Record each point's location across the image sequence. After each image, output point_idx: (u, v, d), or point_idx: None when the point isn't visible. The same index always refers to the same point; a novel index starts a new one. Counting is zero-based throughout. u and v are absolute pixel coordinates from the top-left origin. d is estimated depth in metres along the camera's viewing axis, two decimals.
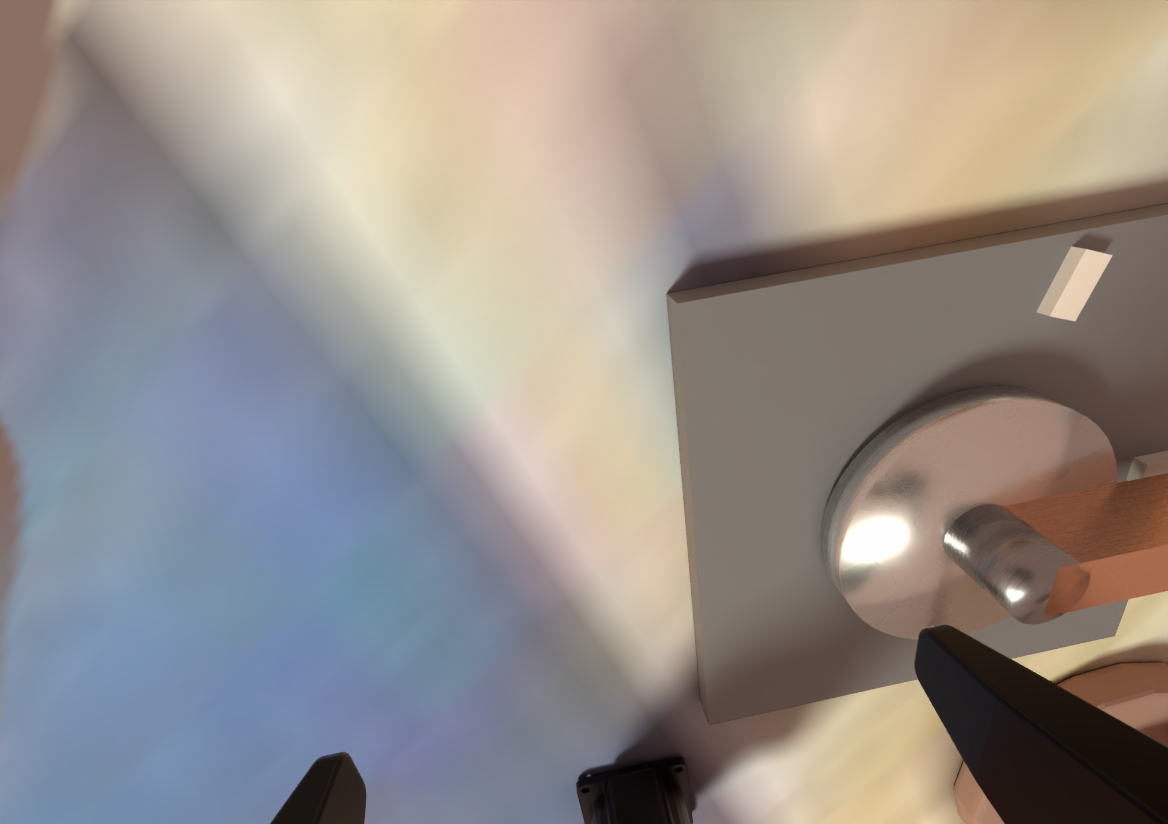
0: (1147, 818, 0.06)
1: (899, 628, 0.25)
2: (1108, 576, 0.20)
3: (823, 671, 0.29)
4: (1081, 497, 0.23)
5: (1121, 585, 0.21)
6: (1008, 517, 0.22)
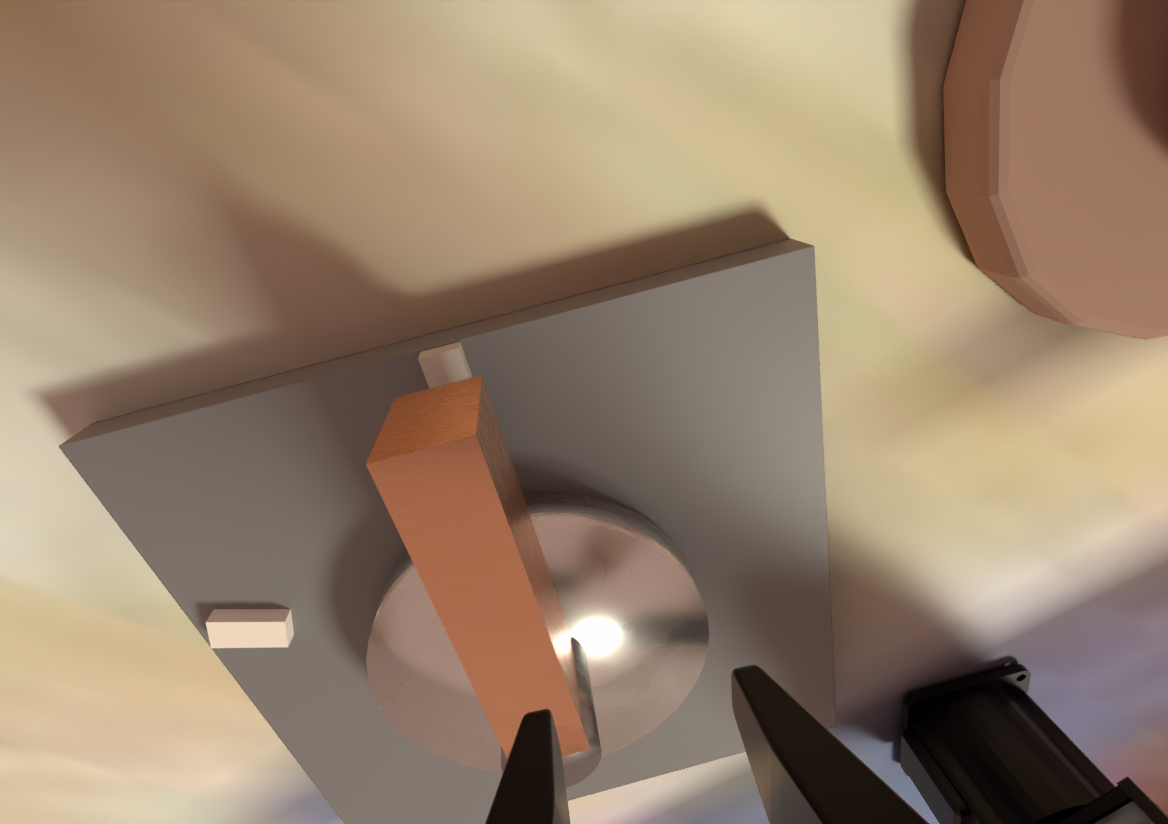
0: None
1: (684, 682, 0.21)
2: (523, 715, 0.16)
3: (781, 650, 0.24)
4: None
5: (538, 694, 0.16)
6: None
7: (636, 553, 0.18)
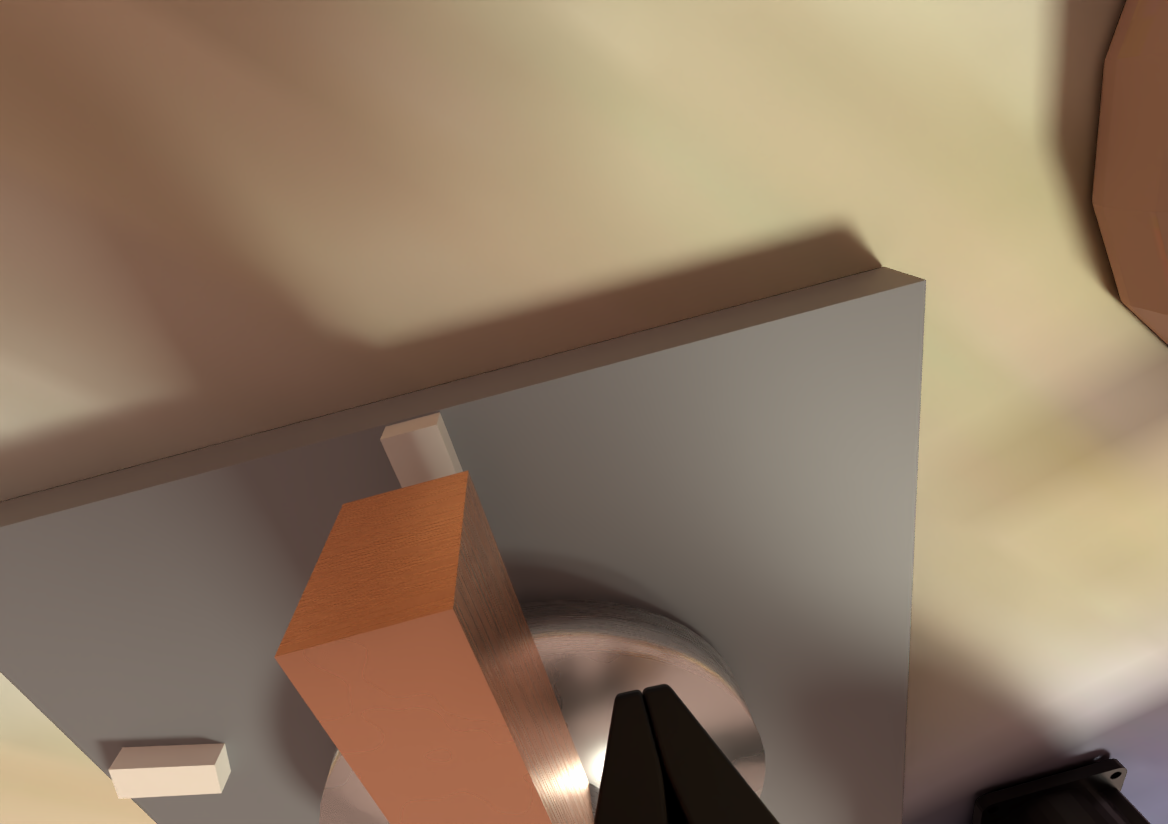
0: None
1: None
2: None
3: (843, 764, 0.20)
4: None
5: None
6: None
7: (677, 684, 0.14)
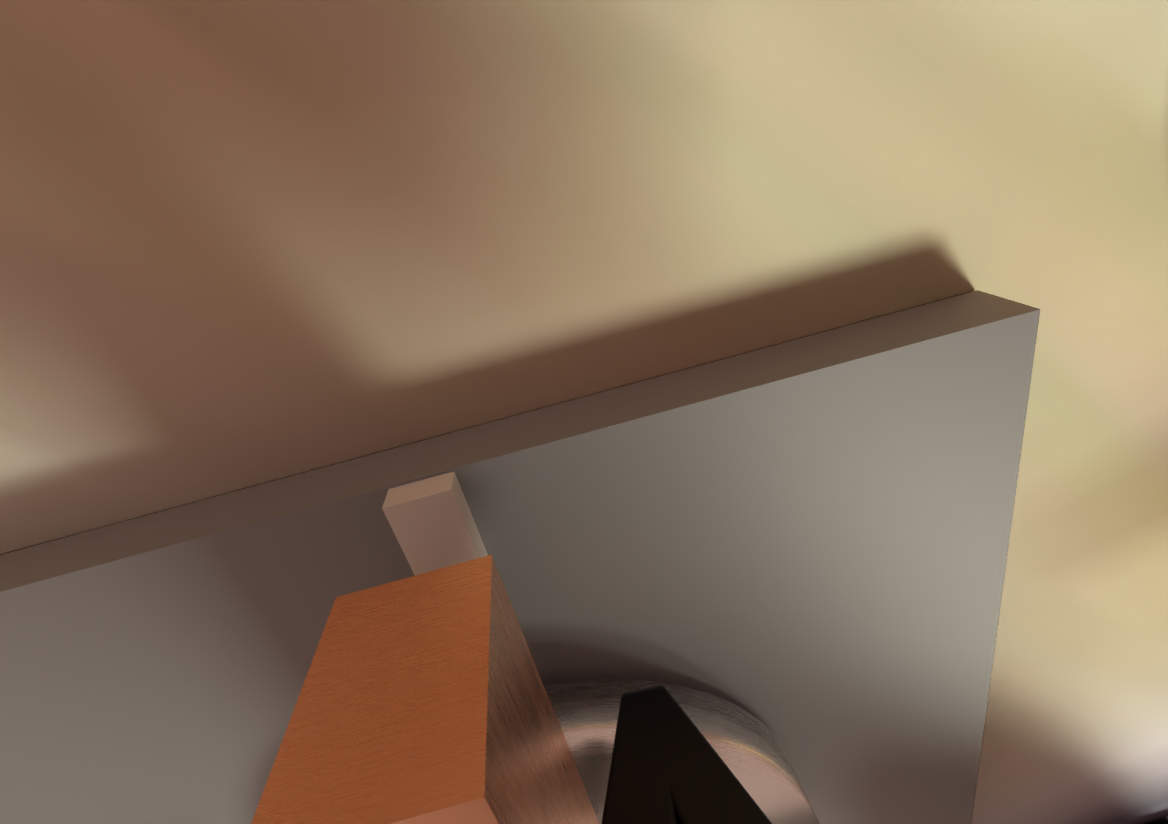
0: None
1: None
2: None
3: None
4: None
5: None
6: None
7: None
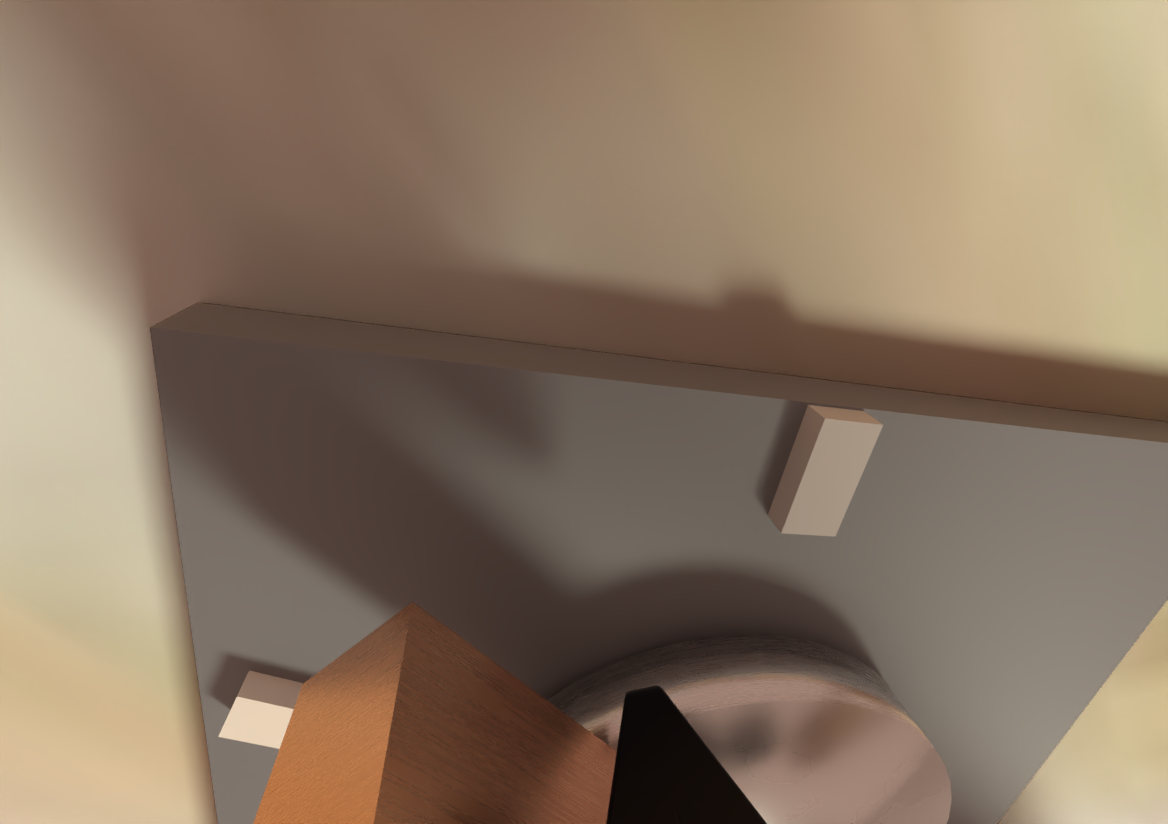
0: None
1: None
2: None
3: None
4: None
5: None
6: None
7: (787, 718, 0.11)
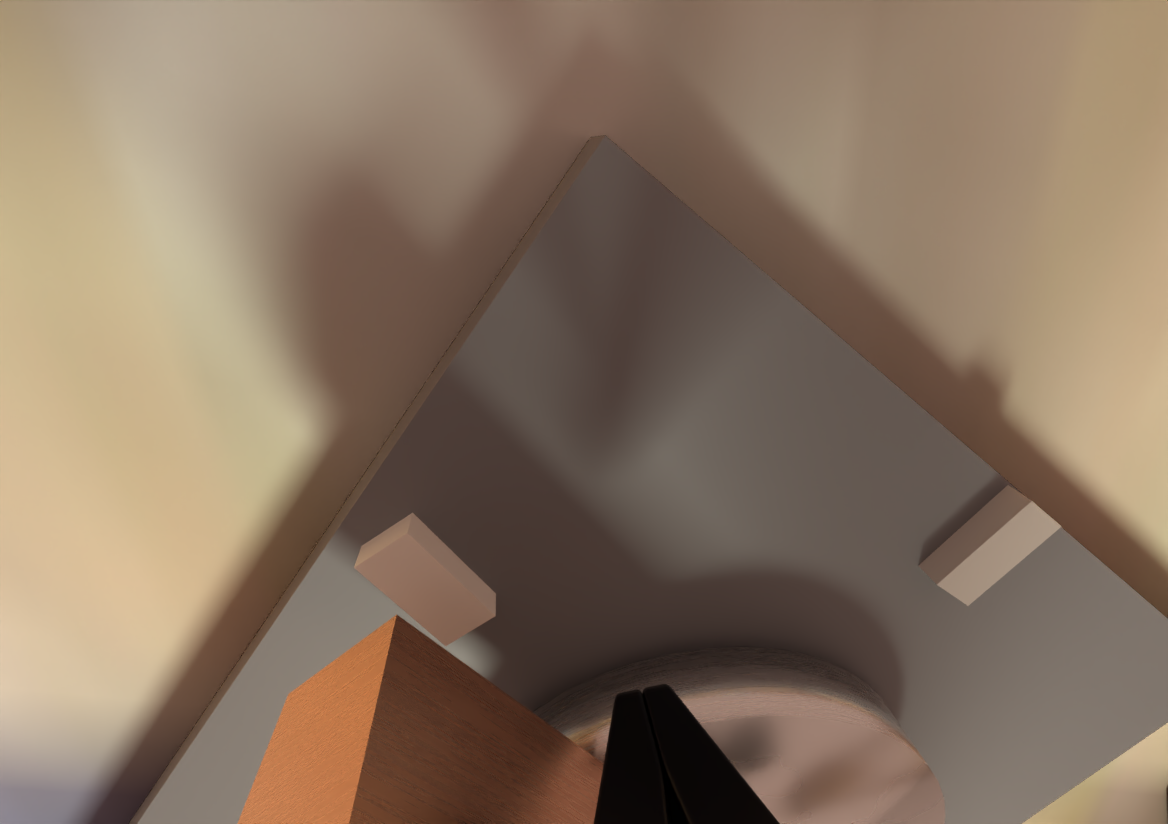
0: None
1: None
2: None
3: None
4: None
5: None
6: None
7: (776, 733, 0.11)
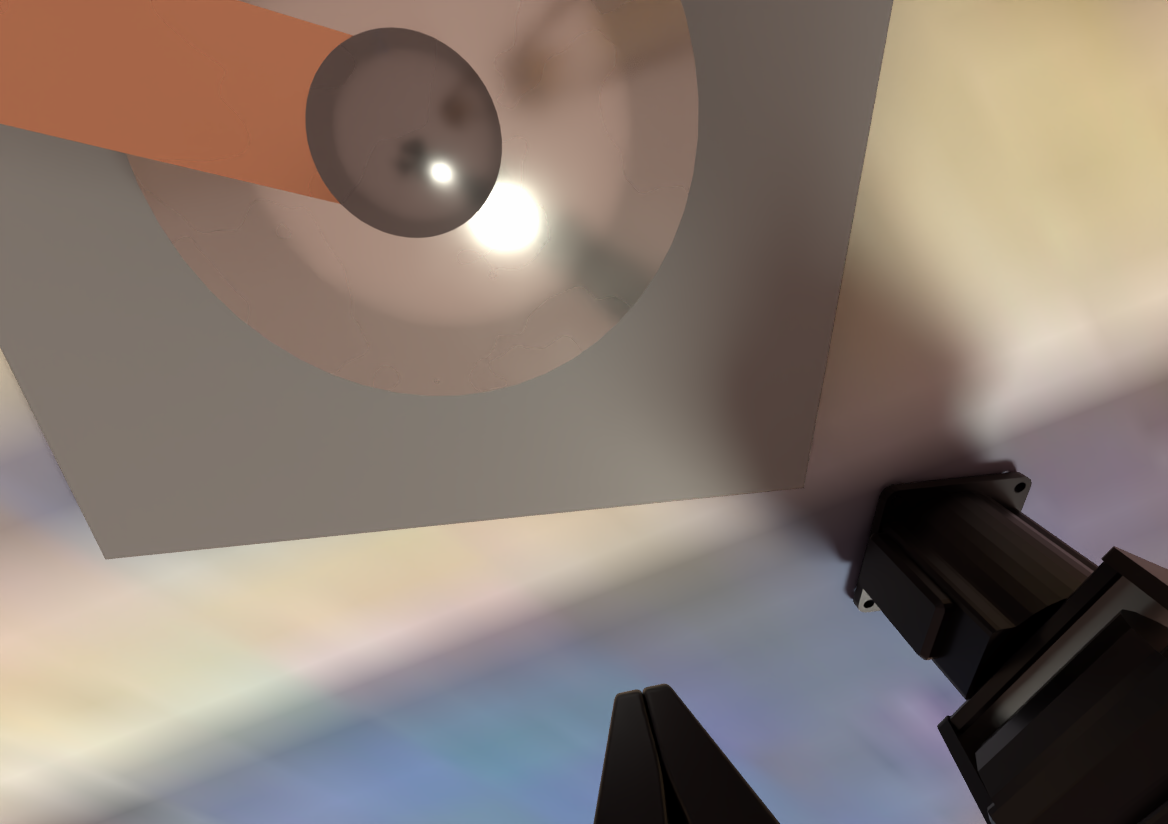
0: None
1: None
2: (256, 118, 0.09)
3: (766, 325, 0.17)
4: None
5: (206, 58, 0.08)
6: None
7: None
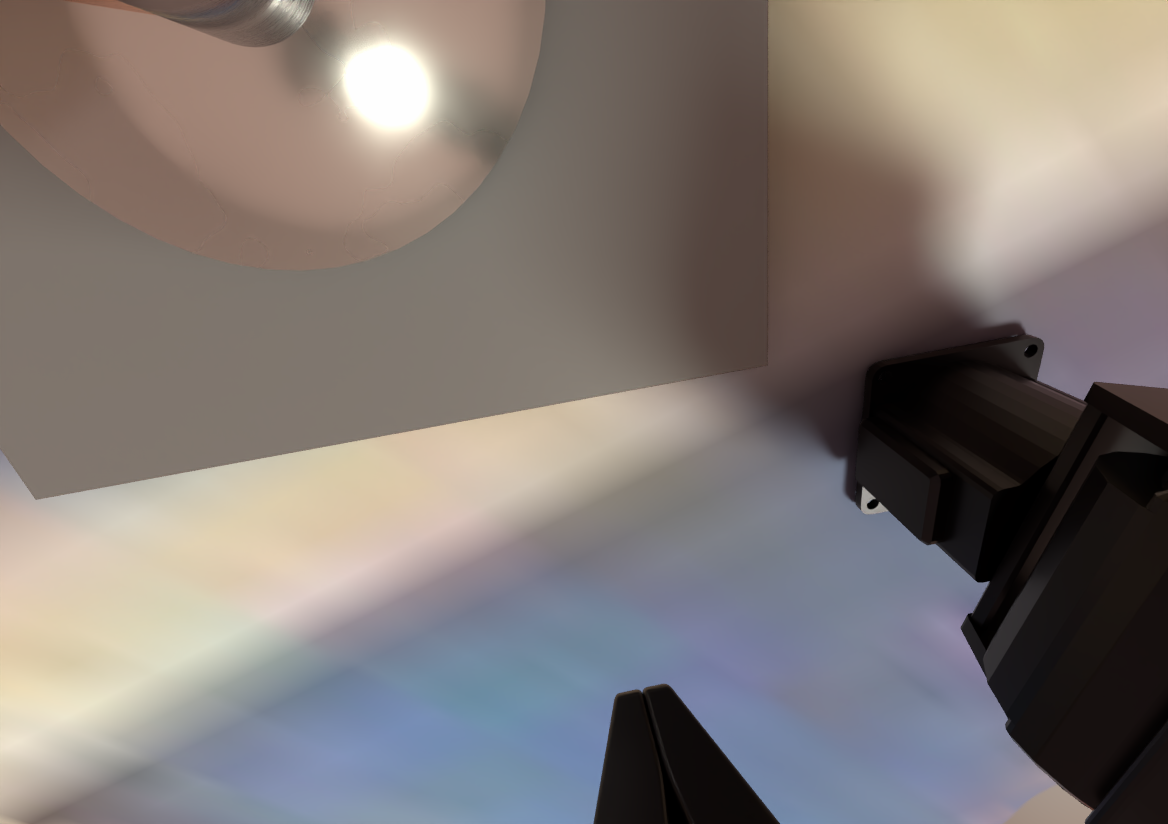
0: None
1: None
2: None
3: (688, 170, 0.15)
4: None
5: None
6: (207, 34, 0.11)
7: None
